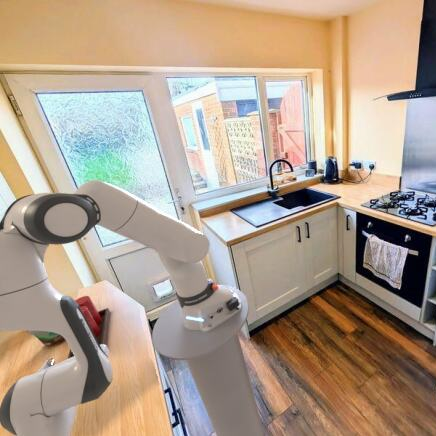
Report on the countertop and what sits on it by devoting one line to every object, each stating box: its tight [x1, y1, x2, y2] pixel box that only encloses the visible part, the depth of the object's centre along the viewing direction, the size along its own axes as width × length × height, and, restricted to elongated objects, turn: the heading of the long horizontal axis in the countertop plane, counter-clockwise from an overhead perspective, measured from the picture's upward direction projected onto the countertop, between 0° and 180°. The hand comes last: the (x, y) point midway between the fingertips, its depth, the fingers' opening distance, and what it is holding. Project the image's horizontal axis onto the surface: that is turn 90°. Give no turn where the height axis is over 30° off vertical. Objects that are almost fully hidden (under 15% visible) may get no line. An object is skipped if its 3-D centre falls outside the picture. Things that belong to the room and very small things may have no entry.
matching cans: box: [74, 295, 102, 337], centre depth 94 cm, size 5×12×12 cm, turn 31°
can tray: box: [67, 307, 111, 359], centre depth 93 cm, size 10×23×3 cm, turn 31°
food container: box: [27, 331, 66, 347], centre depth 93 cm, size 12×6×10 cm, turn 161°
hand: (70, 352), depth 75 cm, fingers open, 8 cm apart
